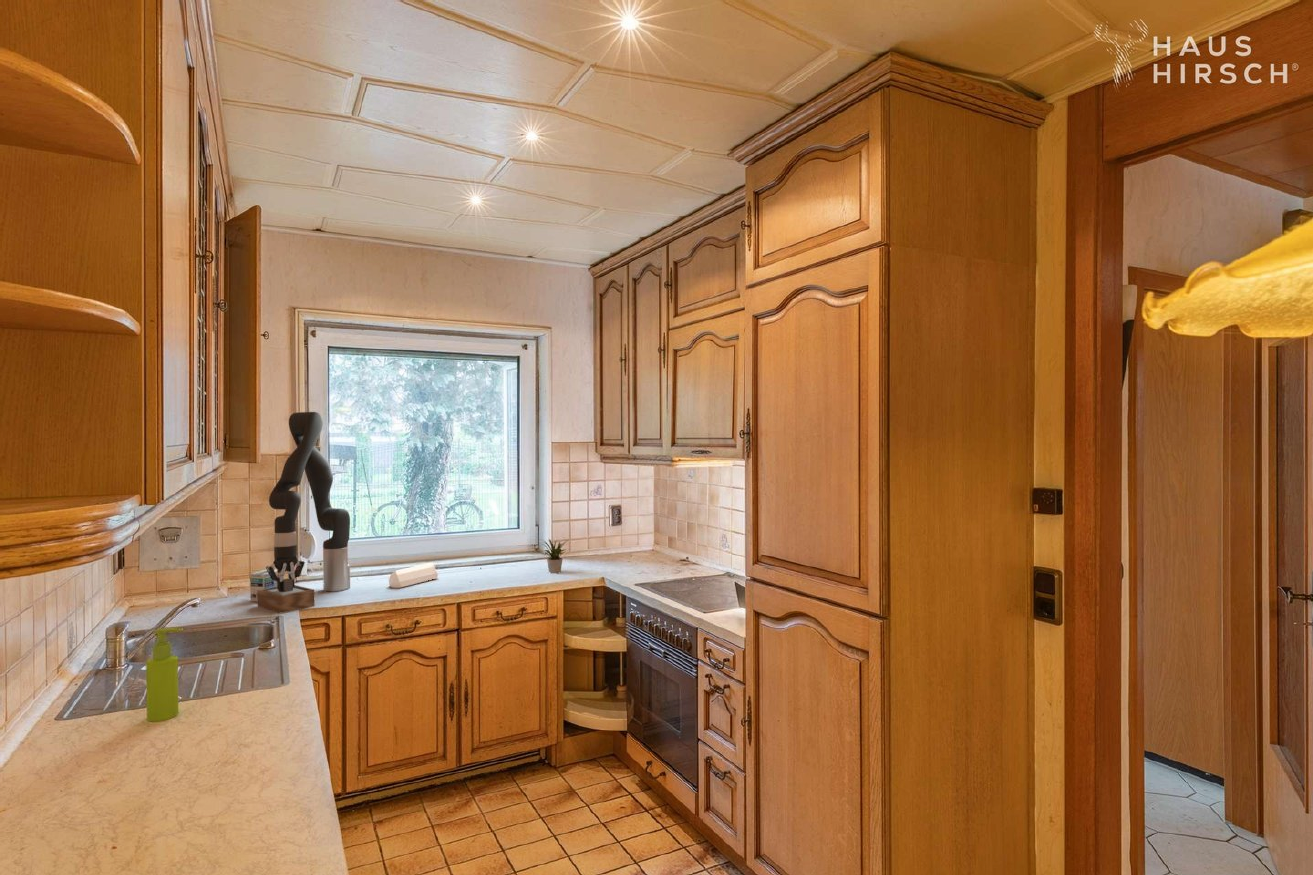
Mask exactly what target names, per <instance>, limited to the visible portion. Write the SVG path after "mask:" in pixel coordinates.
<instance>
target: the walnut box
mask: <svg viewBox="0 0 1313 875" xmlns="http://www.w3.org/2000/svg"><path fill="white" fill-rule="evenodd" d="M294 588H297V589H301V590H305V591H302V592H297V593H292V594H287V595H277V594H273V593H269V592H267V590H272V589H277V587H273V588H268V589H262V590H257V603H256V605H257V607H258V608H262V609H265V610H269V611H272V612H276V613H279V614H282V613H287V612H291V611H296V610H300V609H306V608H310V607H314V606H315V589H312V588H309V587H305V586H300V585H296V584H294Z"/></svg>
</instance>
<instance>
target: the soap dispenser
mask: <svg viewBox="0 0 1313 875" xmlns="http://www.w3.org/2000/svg"><path fill="white" fill-rule="evenodd" d="M183 629H184V628H181V627H174V626H173V627H171V626H169V627H162V628H156V629H155V630H153V631H152V634H153V635H156V639H157V640H156V641H157V642H155V643H154V644H153V645H152V657H151V658H149V659H148V660H146V662H145V665H146V666H145V669H146V670H145V672H146V676H145V677H146V679H145V680H146V684H145V685H146V720H147V722H148V721H149V722H164V721H167V720H171V719H173V718H175V717H177V716H178V715H179V664H178V662H179V660H178V658H179V657H178V656H177V655H174V654H173V655H172V643H171V641H169V640H167V633H179V634H180V632H182V631H183Z"/></svg>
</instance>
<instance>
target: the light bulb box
mask: <svg viewBox="0 0 1313 875" xmlns="http://www.w3.org/2000/svg"><path fill="white" fill-rule="evenodd" d="M274 572H275V574H276V576H277V568H275V570H274ZM249 576H250V577H249V578H250V580H249V581H250V582H249V584H250V585H249V586H250V589H249V590H250V592H249V593H250V596H249V597H250V602H257V590H262V589H268V588H273V587H277V581H274V580H272V579H271V577H270V575H269V573H268V571H267V569H264V570H259V571H257V572H256V571H255V572H252V573H250V574H249ZM283 579H285V576H284V577H283Z"/></svg>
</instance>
